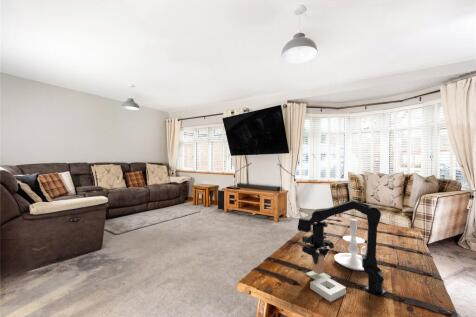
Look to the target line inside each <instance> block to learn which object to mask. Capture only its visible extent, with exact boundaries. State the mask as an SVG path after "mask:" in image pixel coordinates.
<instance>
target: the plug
mask: <svg viewBox="0 0 476 317" xmlns="http://www.w3.org/2000/svg"><path fill="white" fill-rule="evenodd" d="M312 271H313V272H315V273H317V274H322V273H325V258H324V255H322V254H319V258H318V262H317V264H314V261H313V260H312Z"/></svg>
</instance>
